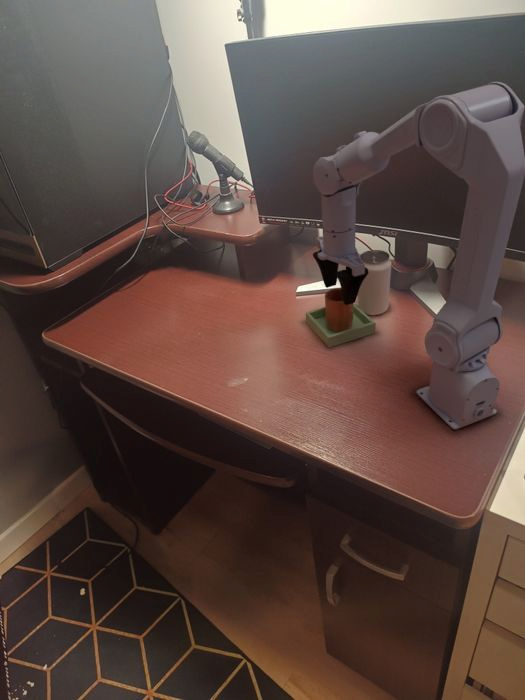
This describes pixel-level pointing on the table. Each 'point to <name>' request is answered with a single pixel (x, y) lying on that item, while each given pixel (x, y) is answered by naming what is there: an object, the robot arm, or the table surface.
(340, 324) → the cup
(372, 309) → the can
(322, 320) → the tray
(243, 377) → the table surface
